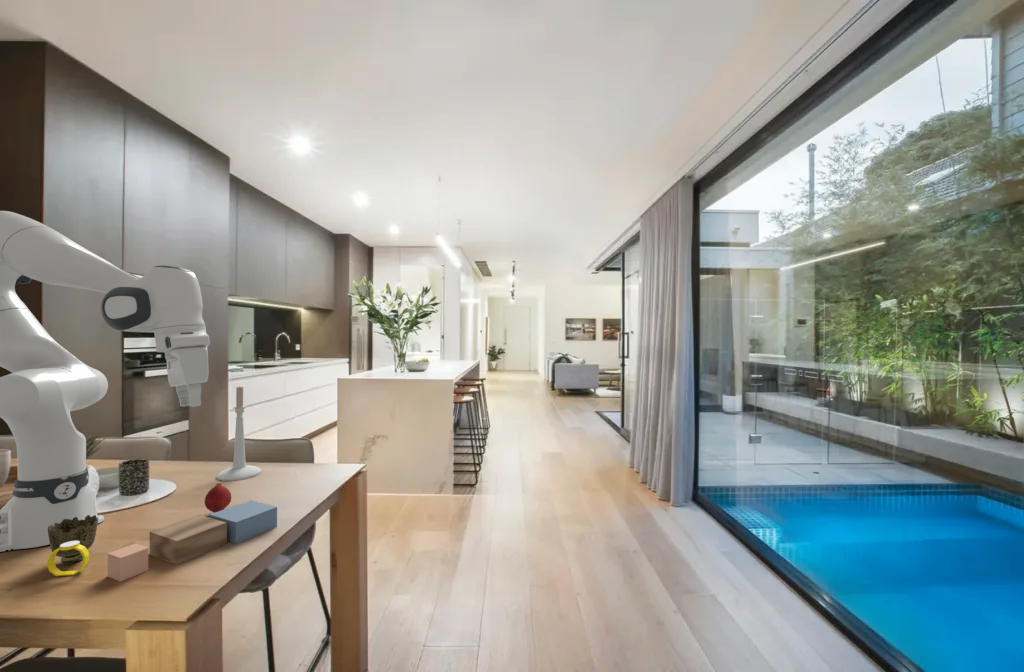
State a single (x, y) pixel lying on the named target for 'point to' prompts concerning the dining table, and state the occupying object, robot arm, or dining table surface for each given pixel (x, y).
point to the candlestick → (239, 448)
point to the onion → (217, 498)
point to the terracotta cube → (127, 562)
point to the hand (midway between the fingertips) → (190, 406)
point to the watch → (68, 546)
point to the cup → (72, 536)
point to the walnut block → (188, 538)
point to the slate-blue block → (247, 520)
